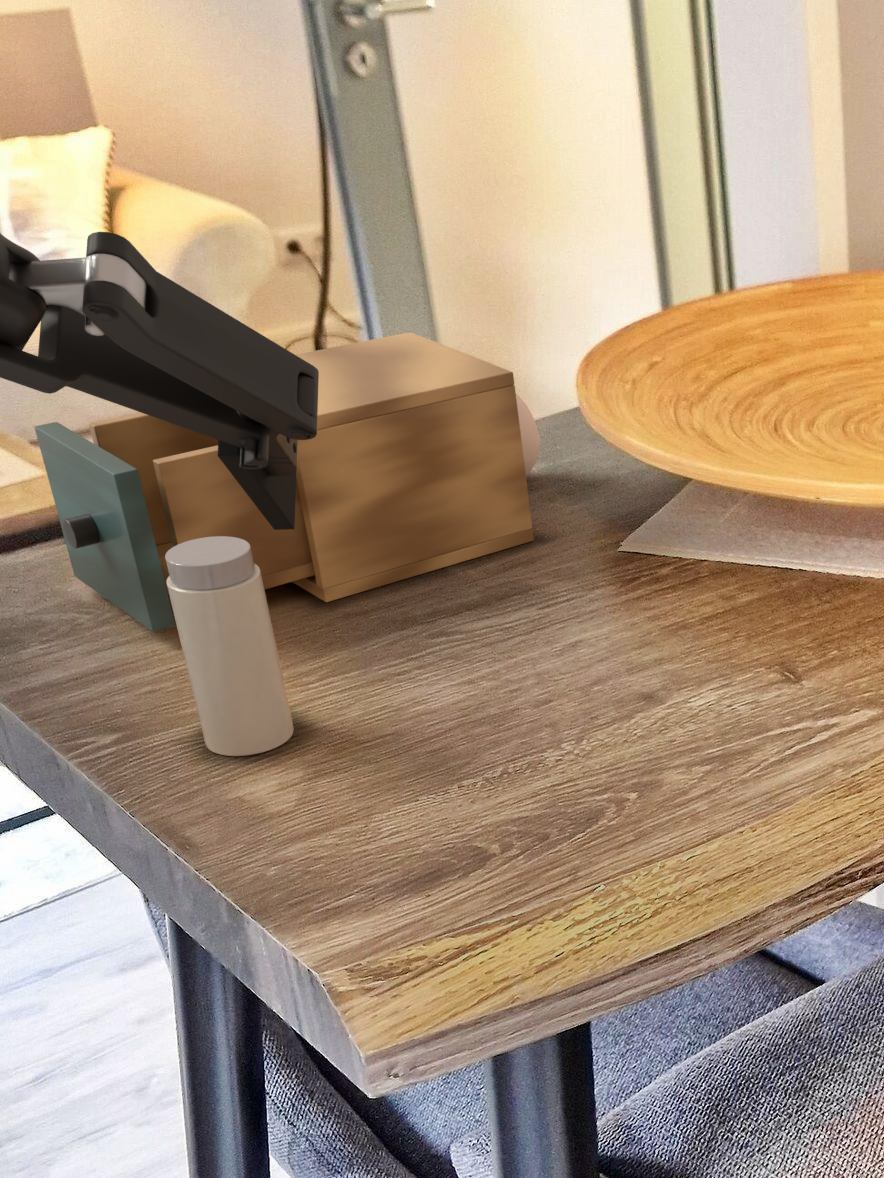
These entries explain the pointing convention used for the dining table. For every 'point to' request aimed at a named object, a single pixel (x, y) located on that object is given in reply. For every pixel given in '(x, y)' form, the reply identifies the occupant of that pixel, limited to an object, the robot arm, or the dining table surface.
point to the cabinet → (408, 464)
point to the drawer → (154, 509)
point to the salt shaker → (228, 645)
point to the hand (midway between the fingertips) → (102, 503)
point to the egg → (528, 435)
